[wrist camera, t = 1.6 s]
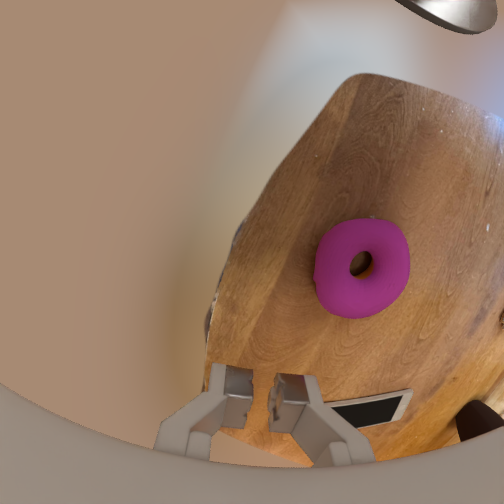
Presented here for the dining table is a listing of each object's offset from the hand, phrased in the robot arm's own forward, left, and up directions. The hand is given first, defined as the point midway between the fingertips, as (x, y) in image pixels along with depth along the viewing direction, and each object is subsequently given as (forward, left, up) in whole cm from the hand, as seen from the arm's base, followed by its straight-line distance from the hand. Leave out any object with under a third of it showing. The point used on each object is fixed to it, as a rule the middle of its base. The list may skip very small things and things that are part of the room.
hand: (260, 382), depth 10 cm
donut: (0, +11, -19) cm, 22 cm away
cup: (+27, +54, -19) cm, 63 cm away
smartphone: (+23, +22, -19) cm, 37 cm away
